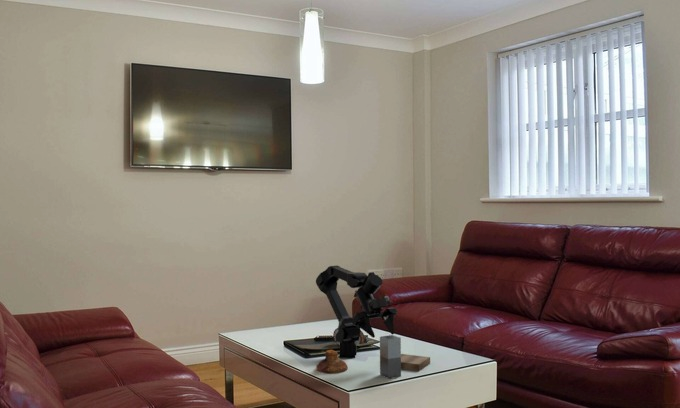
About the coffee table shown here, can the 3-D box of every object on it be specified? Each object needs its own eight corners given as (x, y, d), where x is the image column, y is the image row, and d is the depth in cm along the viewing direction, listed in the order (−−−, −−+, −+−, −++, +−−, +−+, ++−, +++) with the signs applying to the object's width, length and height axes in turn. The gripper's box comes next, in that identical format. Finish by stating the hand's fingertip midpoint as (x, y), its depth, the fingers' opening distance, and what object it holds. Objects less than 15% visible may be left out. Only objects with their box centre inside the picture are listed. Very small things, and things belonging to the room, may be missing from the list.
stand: (389, 367, 240) (389, 360, 240) (401, 360, 250) (401, 353, 250) (419, 371, 234) (419, 364, 234) (430, 363, 245) (430, 357, 245)
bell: (315, 366, 243) (315, 347, 243) (346, 365, 244) (346, 346, 244) (316, 374, 232) (316, 355, 231) (349, 373, 232) (348, 354, 232)
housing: (380, 374, 230) (379, 336, 230) (392, 372, 232) (392, 335, 232) (388, 378, 225) (388, 339, 225) (401, 376, 228) (400, 337, 228)
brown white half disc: (365, 347, 272) (364, 328, 272) (361, 349, 270) (361, 329, 270) (336, 343, 280) (335, 325, 280) (332, 345, 278) (332, 326, 278)
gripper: (357, 291, 235) (373, 327, 226) (395, 287, 245) (413, 321, 237) (344, 307, 242) (360, 343, 233) (382, 302, 252) (398, 336, 244)
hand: (383, 335), depth 237 cm, fingers open, 9 cm apart
